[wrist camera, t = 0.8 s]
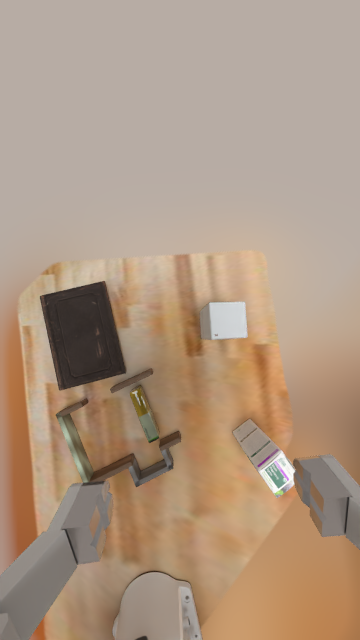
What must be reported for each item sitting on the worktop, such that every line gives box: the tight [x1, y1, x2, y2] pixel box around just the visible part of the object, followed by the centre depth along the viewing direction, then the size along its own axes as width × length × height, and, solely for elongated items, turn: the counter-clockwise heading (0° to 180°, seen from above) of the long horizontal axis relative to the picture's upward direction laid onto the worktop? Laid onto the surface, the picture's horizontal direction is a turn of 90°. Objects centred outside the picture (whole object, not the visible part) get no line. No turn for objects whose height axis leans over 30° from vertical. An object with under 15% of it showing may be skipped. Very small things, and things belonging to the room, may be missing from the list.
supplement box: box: [200, 302, 248, 340], centre depth 44 cm, size 7×7×13 cm
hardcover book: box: [40, 281, 126, 390], centre depth 48 cm, size 16×23×2 cm
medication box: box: [129, 385, 159, 443], centre depth 46 cm, size 12×3×4 cm, turn 23°
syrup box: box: [232, 419, 296, 498], centre depth 41 cm, size 6×6×14 cm
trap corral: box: [56, 369, 181, 487], centre depth 46 cm, size 22×23×3 cm
